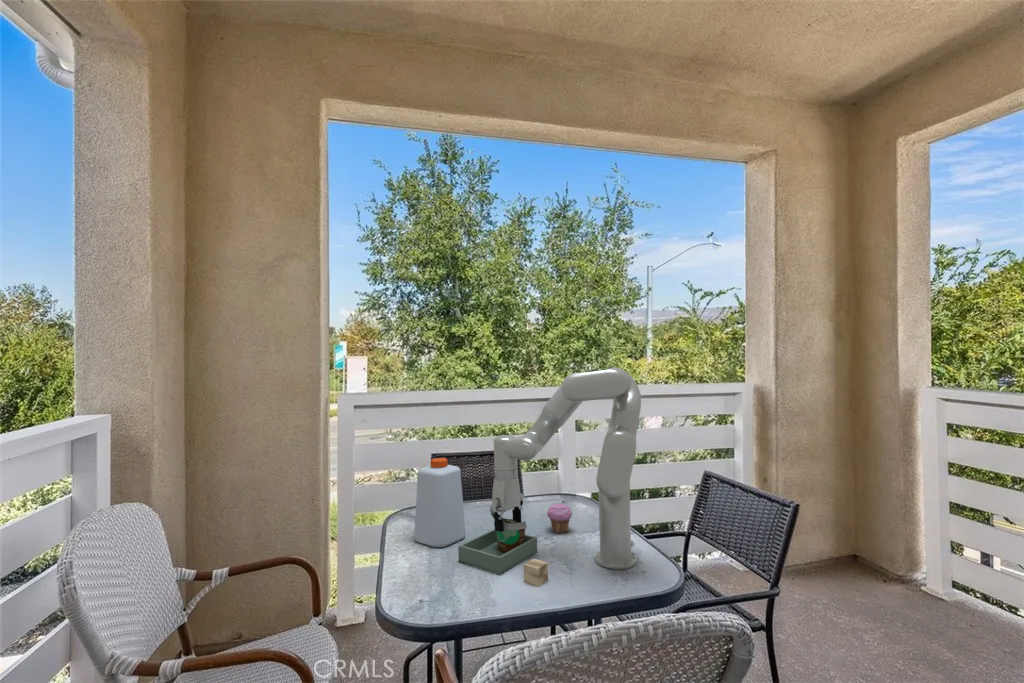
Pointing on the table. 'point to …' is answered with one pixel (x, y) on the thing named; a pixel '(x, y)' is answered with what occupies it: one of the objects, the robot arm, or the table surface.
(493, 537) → the tote
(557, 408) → the robot arm
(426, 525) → the plastic bottle
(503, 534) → the food container
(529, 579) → the maple block
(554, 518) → the cupcake
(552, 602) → the table surface
